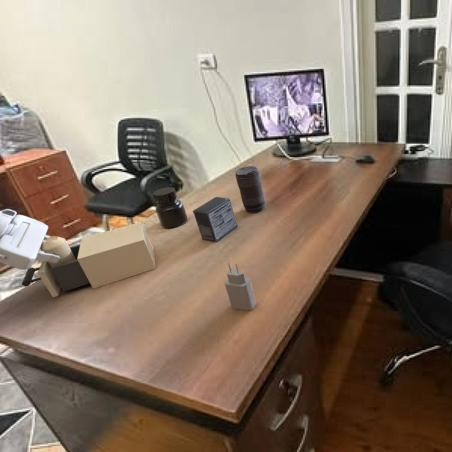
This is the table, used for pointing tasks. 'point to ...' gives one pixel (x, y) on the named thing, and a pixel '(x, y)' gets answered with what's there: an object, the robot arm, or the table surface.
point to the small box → (215, 219)
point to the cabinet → (116, 254)
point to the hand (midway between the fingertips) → (61, 253)
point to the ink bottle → (169, 208)
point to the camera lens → (250, 188)
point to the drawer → (59, 275)
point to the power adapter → (239, 290)
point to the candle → (57, 250)
